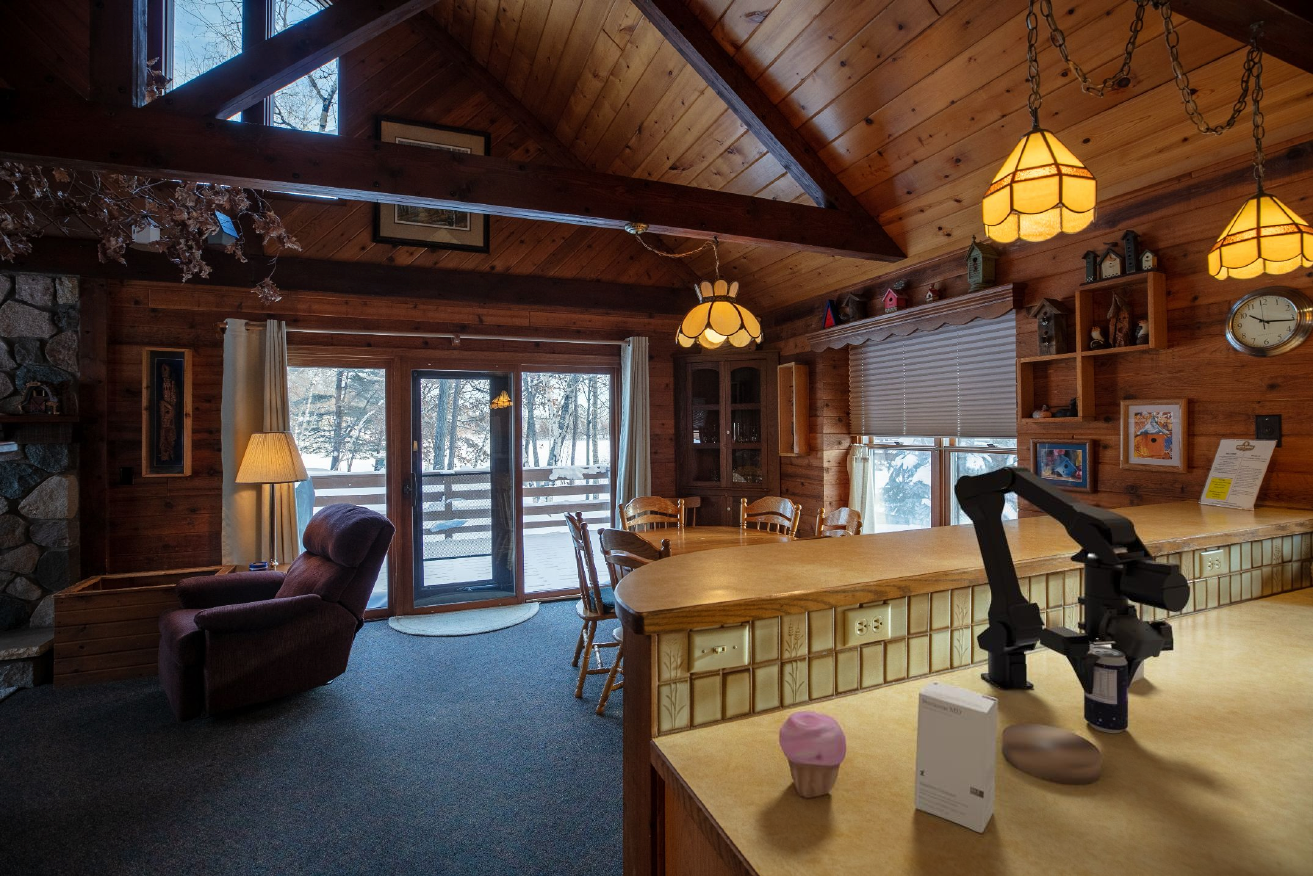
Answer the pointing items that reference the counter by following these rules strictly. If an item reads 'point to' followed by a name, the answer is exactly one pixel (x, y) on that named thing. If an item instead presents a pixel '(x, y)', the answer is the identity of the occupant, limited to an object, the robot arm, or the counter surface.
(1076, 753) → the walnut base
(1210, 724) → the counter surface
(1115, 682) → the beverage can
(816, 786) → the cupcake
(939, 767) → the skincare box
